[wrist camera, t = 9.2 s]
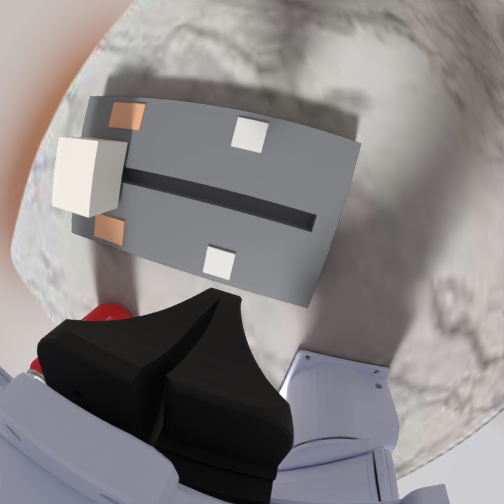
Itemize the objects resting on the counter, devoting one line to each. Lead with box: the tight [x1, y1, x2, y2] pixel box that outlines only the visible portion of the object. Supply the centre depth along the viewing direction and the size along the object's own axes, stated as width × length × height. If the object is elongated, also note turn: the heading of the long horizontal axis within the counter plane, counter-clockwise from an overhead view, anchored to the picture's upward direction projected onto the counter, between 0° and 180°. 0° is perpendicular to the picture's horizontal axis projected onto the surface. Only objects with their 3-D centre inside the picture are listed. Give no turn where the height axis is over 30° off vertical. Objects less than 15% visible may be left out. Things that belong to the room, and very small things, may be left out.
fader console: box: [72, 96, 361, 308], centre depth 19 cm, size 21×12×2 cm, turn 76°
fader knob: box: [52, 137, 128, 218], centre depth 17 cm, size 4×5×5 cm
